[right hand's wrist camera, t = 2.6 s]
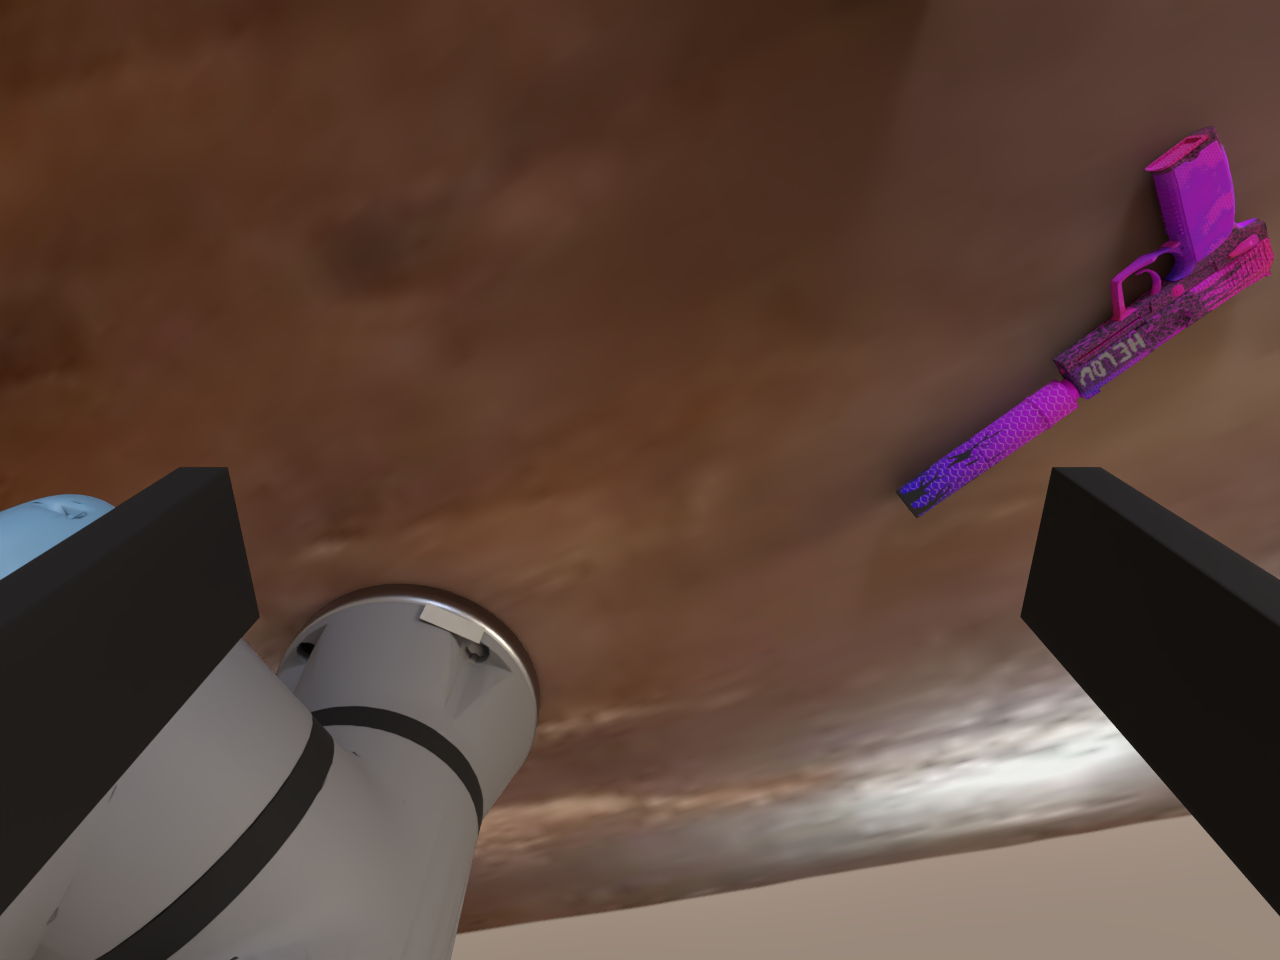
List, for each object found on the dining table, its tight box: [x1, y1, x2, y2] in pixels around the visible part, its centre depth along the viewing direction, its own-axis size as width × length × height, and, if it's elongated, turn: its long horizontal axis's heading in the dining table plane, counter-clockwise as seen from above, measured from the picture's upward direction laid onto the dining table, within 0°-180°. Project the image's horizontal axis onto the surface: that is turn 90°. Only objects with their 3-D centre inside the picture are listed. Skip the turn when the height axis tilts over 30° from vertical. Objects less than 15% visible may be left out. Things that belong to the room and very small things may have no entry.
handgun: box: [896, 126, 1274, 518], centre depth 37 cm, size 21×8×2 cm, turn 131°
